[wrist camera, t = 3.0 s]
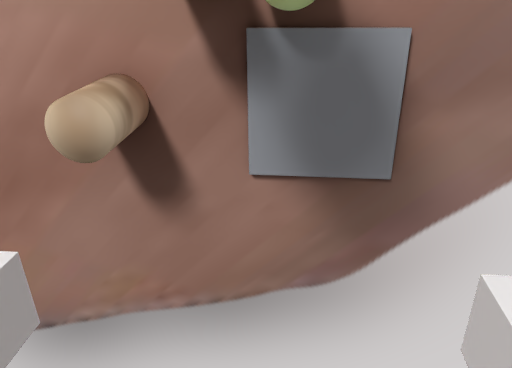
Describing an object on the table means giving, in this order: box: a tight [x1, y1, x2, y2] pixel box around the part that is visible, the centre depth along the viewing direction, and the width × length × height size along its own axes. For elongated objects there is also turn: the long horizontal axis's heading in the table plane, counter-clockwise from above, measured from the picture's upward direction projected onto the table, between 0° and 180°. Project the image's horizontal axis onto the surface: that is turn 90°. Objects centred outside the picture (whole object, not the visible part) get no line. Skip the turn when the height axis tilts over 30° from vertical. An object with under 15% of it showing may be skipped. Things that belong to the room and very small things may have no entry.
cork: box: [45, 74, 149, 163], centre depth 30 cm, size 4×4×7 cm
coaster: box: [247, 27, 412, 179], centre depth 31 cm, size 11×11×1 cm
